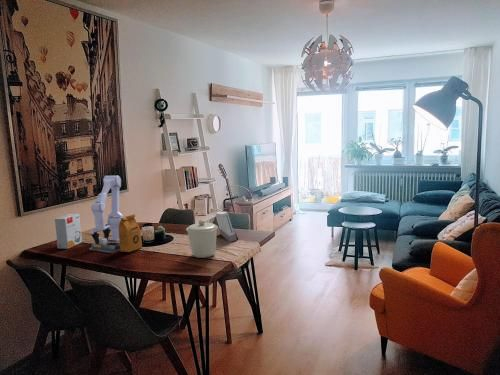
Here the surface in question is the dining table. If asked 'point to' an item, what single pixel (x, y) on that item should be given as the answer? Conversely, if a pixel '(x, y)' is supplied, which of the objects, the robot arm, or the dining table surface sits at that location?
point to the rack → (106, 247)
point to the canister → (202, 239)
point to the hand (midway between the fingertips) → (101, 242)
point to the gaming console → (225, 226)
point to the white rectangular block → (103, 240)
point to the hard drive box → (68, 231)
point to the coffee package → (129, 234)
